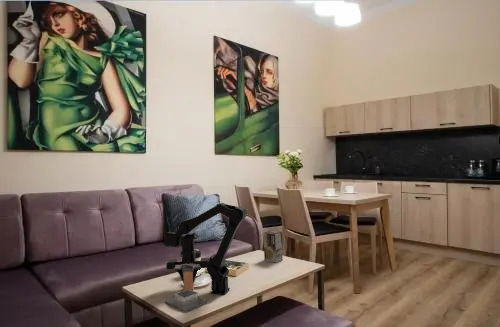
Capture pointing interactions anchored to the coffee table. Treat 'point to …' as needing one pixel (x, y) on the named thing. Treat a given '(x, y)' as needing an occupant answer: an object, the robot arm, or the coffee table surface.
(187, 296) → the collar
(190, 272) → the orange block
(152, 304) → the coffee table surface
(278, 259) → the coffee box
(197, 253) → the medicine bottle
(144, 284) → the coffee table surface
